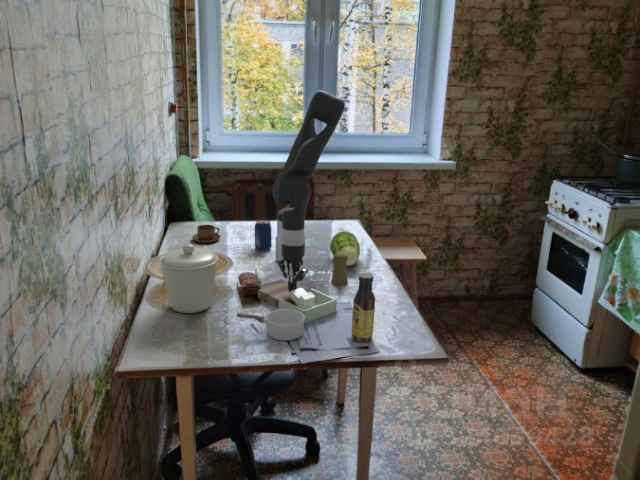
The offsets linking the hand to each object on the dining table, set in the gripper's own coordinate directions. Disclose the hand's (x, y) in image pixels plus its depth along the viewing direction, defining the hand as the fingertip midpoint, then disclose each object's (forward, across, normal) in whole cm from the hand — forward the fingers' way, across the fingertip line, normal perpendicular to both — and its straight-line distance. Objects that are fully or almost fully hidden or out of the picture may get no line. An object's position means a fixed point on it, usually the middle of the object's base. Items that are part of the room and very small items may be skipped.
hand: (292, 291), depth 187 cm
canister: (+4, -18, -27) cm, 33 cm away
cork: (+4, -4, +25) cm, 26 cm away
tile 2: (+1, +6, 0) cm, 6 cm away
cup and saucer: (+4, -75, +14) cm, 77 cm away
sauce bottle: (+5, +31, 0) cm, 32 cm away
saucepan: (+5, +12, -18) cm, 22 cm away
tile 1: (+2, +3, 0) cm, 3 cm away
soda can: (+4, -51, +26) cm, 57 cm away
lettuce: (+4, -17, +41) cm, 45 cm away
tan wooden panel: (+4, -6, 0) cm, 7 cm away
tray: (+4, +7, 0) cm, 9 cm away
